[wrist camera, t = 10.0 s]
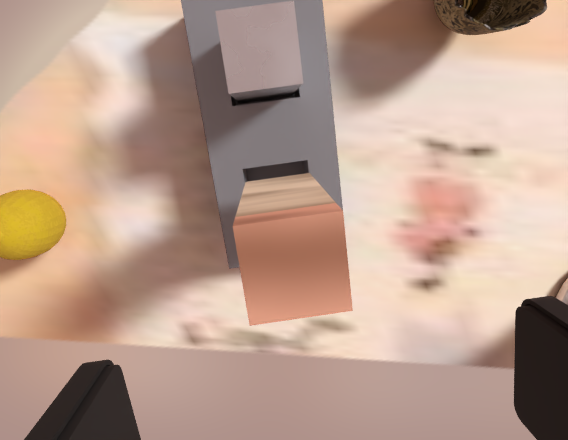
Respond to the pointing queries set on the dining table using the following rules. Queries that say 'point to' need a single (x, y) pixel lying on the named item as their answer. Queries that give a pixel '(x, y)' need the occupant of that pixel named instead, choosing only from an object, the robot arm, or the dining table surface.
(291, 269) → the birch plug
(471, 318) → the dining table surface
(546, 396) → the robot arm
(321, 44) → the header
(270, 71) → the metal plug
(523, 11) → the cup
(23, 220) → the lemon
